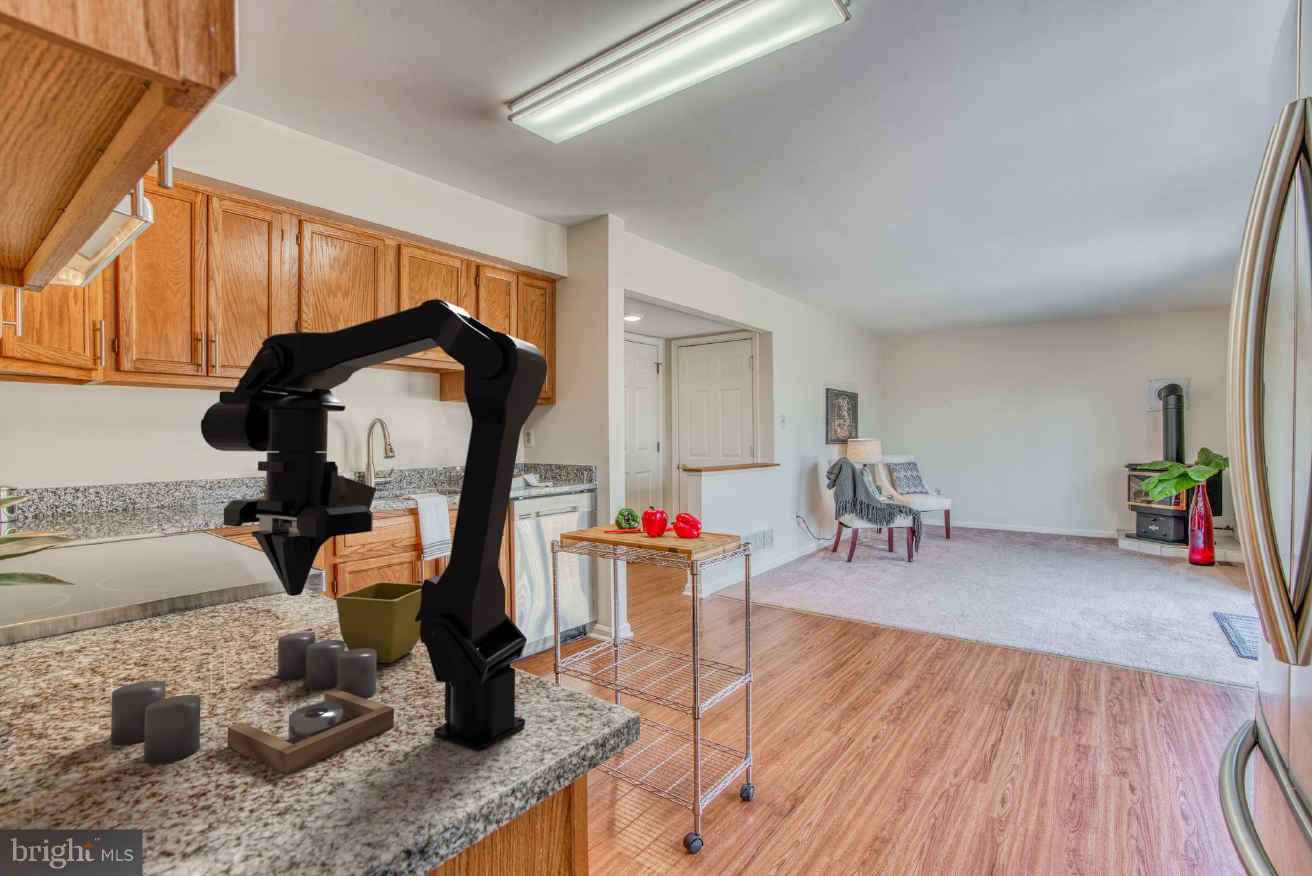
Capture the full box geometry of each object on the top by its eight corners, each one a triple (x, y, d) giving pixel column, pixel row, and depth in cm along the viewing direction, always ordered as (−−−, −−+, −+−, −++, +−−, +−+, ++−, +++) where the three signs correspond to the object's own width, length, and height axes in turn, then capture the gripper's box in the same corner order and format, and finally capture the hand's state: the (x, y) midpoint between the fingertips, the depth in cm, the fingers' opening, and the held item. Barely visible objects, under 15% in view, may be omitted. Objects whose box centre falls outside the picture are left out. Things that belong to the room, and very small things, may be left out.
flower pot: (393, 671, 77) (394, 599, 77) (332, 665, 78) (333, 595, 78) (432, 648, 85) (433, 584, 85) (377, 644, 87) (378, 581, 87)
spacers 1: (208, 749, 56) (209, 700, 57) (156, 768, 53) (157, 716, 53) (153, 721, 62) (154, 677, 62) (103, 738, 58) (104, 691, 59)
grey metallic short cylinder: (352, 733, 60) (353, 707, 60) (308, 754, 56) (309, 726, 56) (321, 724, 62) (322, 698, 62) (277, 743, 58) (277, 716, 58)
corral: (393, 726, 61) (393, 708, 61) (286, 774, 52) (287, 753, 52) (334, 705, 66) (335, 688, 66) (227, 746, 57) (227, 726, 57)
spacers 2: (383, 691, 70) (384, 651, 70) (351, 703, 67) (352, 662, 67) (303, 665, 78) (303, 630, 78) (270, 675, 75) (271, 638, 75)
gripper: (416, 453, 69) (413, 591, 69) (318, 451, 78) (316, 572, 78) (321, 453, 59) (317, 613, 59) (222, 451, 69) (219, 589, 68)
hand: (294, 594), depth 66 cm, fingers closed
